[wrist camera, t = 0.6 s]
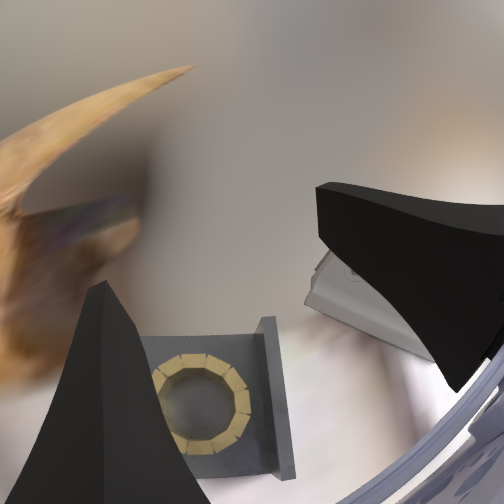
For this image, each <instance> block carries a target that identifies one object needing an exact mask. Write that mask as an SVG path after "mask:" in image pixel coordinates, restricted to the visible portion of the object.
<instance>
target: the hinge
mask: <svg viewBox="0 0 504 504" xmlns="http://www.w3.org/2000/svg"><path fill="white" fill-rule="evenodd" d="M315 271H316V272H315V274H314V275H313V276H312V278H311V290H310V292H309V294H308V296H307V298H306V299H305V302H304V305H306V306H309V307H311V308H313V309H315V310H317V311H319V312H321V313H324V314H326V315H328V316H330V317H332V318H335V319H337V320H339V321H341V322H343V323H346V324H348V325H350V326H352V327H354V328H357V329H359V330H361V331H363V332H366V333H368V334H370V335H372V336H375V337H377V338H379V339H381V340H384V341H386V342H388V343H390V344H393V345H395V346H397V347H400V348H402V349H404V350H407V351H409V352H411V353H413V354H416V355H418V356H420V357H423V358H425V359H427V360H430V361H432V362H434V363H436V362H435V361H434V359H433V358H432V356H431V355H430V353H429V352H428V350H427V349H426V347H425V346H424V345H423V343H422V342H421V340H420V339H419V338H418V336H417V335H416V334H415V332H414V331H413V330H412V329H411V327H410V326H409V325H408V324H407V322H406V321H405V320H404V319H403V318H402V316H401V315H400V314H399V313H398V312H397V311H396V310H395V309H394V307H393V306H392V305H391V304H390V303H389V302H388V301H387V300H386V299H385V298H384V297H383V296H382V295H381V294H380V293H379V292H377V291H376V290H375V289H374V288H373V287H372V286H370V285H369V284H368V283H367V282H366V281H365V280H363V279H362V278H361V277H360V276H359V275H358V274H356V273H355V272H354V271H353V270H352V269H350V268H349V267H348V266H347V265H346V264H345V263H343V262H342V261H341V260H340V259H339V258H338V257H337V256H336V255H335V254H334V253H333V252H332V251H331V250H330V249H329V251H328V252H327V253H326V255H325V256H324V257H323V259H322V260H321V261H320V263H319V264H318V266H317V267H316V268H315Z"/></svg>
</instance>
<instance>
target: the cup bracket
mask: <svg viewBox="0 0 504 504" xmlns="http://www.w3.org/2000/svg"><path fill="white" fill-rule="evenodd" d="M139 337H140V339H141V342H142V345H143V347H144V350H145V353H146V357H147V360H148V364H149V368H150V371H151V375H152V378H153V382H154V385H155V389H156V392H157V396H158V399H159V402H160V405H161V409H162V412H163V415H164V417H165V420H166V423H167V425H168V427H169V430H170V432H171V434H172V436H173V438H174V440H175V442H176V444H177V446H178V448H179V450H180V452H181V454H182V456H183V458H184V460H185V462H186V463H187V465H188V467H189V469H190V471H191V472H192V474H193V476H194V478H195V479H199V478H224V477H238V476H249V475H259V474H267V473H271V474H272V475H274V476H275V477H276V478H278V479H279V480H281V481H285V480H291V479H296V473H295V464H294V456H293V448H292V439H291V431H290V423H289V415H288V407H287V400H286V392H285V384H284V376H283V369H282V361H281V354H280V346H279V339H278V332H277V324H276V318H275V316H271V317H262V318H261V320H260V322H259V325H258V327H257V329H256V331H255V334H237V335H211V336H139Z"/></svg>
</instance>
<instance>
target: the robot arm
mask: <svg viewBox="0 0 504 504" xmlns="http://www.w3.org/2000/svg"><path fill="white" fill-rule="evenodd" d="M316 201H317V216H318V230H319V231H318V233H319V237H320V239H321V240H322V241H323V242H324V243H325V244H326V246H327V247H328V248H329V249H330V250H331V251H332V252H333V253H334V254H335V255H336V256H337V257H338V258H339V259H340V260H341V261H342V262H343V263H345V264H346V265H347V266H348V267H349V268H350V269H352V270H353V271H354V272H355V273H356V274H358V275H359V276H360V277H361V278H362V279H363V280H365V281H366V282H367V283H368V284H369V285H370V286H372V287H373V288H374V289H375V290H376V291H377V292H379V293H380V294H381V295H382V296H383V297H384V298H385V299H386V300H387V301H388V302H389V303H390V304H391V305H392V306H393V307H394V309H395V310H396V311H397V312H398V313H399V314H400V315H401V316H402V318H403V319H404V320H405V321H406V322H407V324H408V325H409V326H410V327H411V329H412V330H413V331H414V332H415V334H416V335H417V336H418V338H419V339H420V340H421V342H422V343H423V345H424V346H425V347H426V349H427V350H428V352H429V353H430V355H431V356H432V358H433V359H434V361H435V362H436V364H437V366H438V367H439V369H440V371H441V372H442V374H443V376H444V378H445V380H446V381H447V383H448V385H449V387H450V388H451V389H453V390H454V391H455V392H456V393H458V392H459V391H460V390H461V388H462V387H463V386H464V385H465V384H466V383H467V382H468V380H469V379H470V378H471V377H472V376H473V374H474V373H475V372H476V371H477V370H478V368H479V367H480V366H481V365H482V363H483V362H484V361H485V359H486V358H488V359H490V360H491V362H490V363H489V365H488V366H487V367H486V368H485V370H484V371H483V372H482V374H481V375H480V376H479V377H478V379H477V380H476V381H475V382H474V383H473V385H472V386H471V387H470V388H469V389H468V391H467V392H466V393H465V394H464V395H463V396H462V397H461V399H460V400H459V401H458V402H457V403H456V404H455V405H454V406H453V407H452V408H451V410H450V411H449V412H448V413H447V414H446V415H445V416H444V417H443V418H442V419H441V420H440V421H439V422H438V423H437V424H436V425H435V426H434V427H433V428H432V429H431V430H430V431H429V432H428V433H427V434H426V435H425V436H423V437H422V438H421V439H420V440H419V441H418V442H417V443H416V444H415V445H414V446H412V447H411V448H410V449H409V450H408V451H407V452H406V453H404V454H403V455H402V456H401V457H400V458H398V459H397V460H396V461H395V462H394V463H392V464H391V465H390V466H389V467H387V468H386V469H385V470H383V471H382V472H381V473H379V474H378V475H377V476H376V477H374V478H373V479H371V480H370V481H369V482H367V483H366V484H364V485H363V486H362V487H360V488H359V489H357V490H356V491H354V492H353V493H351V494H350V495H348V496H347V497H345V498H344V499H342V500H341V501H339V502H337V503H336V504H380V503H382V502H383V501H384V500H386V499H387V498H388V497H389V496H391V495H392V494H393V493H395V492H396V491H397V490H398V489H400V488H401V487H402V486H403V485H405V484H406V483H407V482H408V481H409V480H410V479H412V478H413V477H414V476H415V475H416V474H417V473H419V472H420V471H421V470H422V469H423V468H424V467H425V466H426V465H427V464H428V463H429V462H431V461H432V460H433V459H434V458H435V457H436V456H437V455H438V454H439V453H440V452H441V451H442V450H443V449H444V448H445V447H446V446H447V445H448V444H449V443H450V442H451V441H452V440H453V438H454V437H455V436H456V435H457V434H458V433H459V432H460V431H461V430H462V429H463V428H464V426H465V425H466V424H467V423H468V422H469V421H470V419H471V418H472V417H473V416H474V415H475V414H476V412H477V411H478V410H479V409H480V407H481V406H482V405H483V404H484V402H485V401H486V400H487V398H488V397H489V396H490V395H491V393H492V392H493V390H494V389H495V388H496V386H497V385H498V387H499V391H498V392H497V394H496V395H495V396H494V397H493V398H492V399H491V400H490V401H489V402H488V403H487V404H486V405H485V406H484V407H483V408H482V410H481V411H480V412H479V413H478V414H477V416H476V417H475V418H474V420H473V421H472V423H471V424H470V426H469V427H468V432H469V433H470V434H471V436H470V438H469V439H468V440H467V441H466V442H465V443H464V444H463V445H462V446H461V447H460V448H459V449H458V450H457V451H456V452H455V453H454V454H453V455H452V456H451V457H450V458H449V459H448V460H447V461H446V462H444V463H443V464H442V465H441V466H440V467H439V468H438V469H437V470H436V471H435V472H433V473H432V474H431V475H430V476H429V477H428V478H426V479H425V480H424V481H423V482H422V483H420V484H419V485H418V486H417V487H416V488H414V489H413V490H412V491H411V492H409V493H408V494H407V495H406V496H404V497H403V498H402V499H401V500H399V501H398V502H397V503H395V504H504V205H477V204H463V203H452V202H444V201H436V200H429V199H423V198H418V197H412V196H407V195H402V194H397V193H392V192H387V191H382V190H377V189H373V188H368V187H362V186H357V185H352V184H345V183H338V182H328V183H326V184H323V185H321V186H318V187H316ZM4 504H211V503H210V502H209V500H208V499H207V497H206V495H205V494H204V492H203V491H202V489H201V487H200V486H199V484H198V483H197V481H196V479H195V478H194V476H193V474H192V472H191V471H190V469H189V467H188V465H187V463H186V462H185V460H184V458H183V456H182V454H181V452H180V450H179V448H178V446H177V444H176V442H175V440H174V438H173V436H172V434H171V432H170V430H169V427H168V425H167V423H166V420H165V417H164V415H163V412H162V409H161V405H160V402H159V399H158V396H157V392H156V389H155V385H154V382H153V378H152V375H151V371H150V368H149V364H148V360H147V357H146V353H145V350H144V347H143V345H142V342H141V339H140V337H139V334H138V332H137V329H136V326H135V324H134V323H133V321H132V320H131V318H130V317H129V315H128V314H127V312H126V311H125V309H124V308H123V306H122V304H121V303H120V302H119V300H118V298H117V297H116V295H115V293H114V292H113V290H112V289H111V287H110V285H109V284H108V282H107V280H105V281H103V282H101V283H99V284H97V285H95V286H93V287H90V288H89V289H88V292H87V295H86V298H85V301H84V304H83V307H82V311H81V314H80V317H79V321H78V324H77V327H76V331H75V334H74V337H73V341H72V344H71V347H70V350H69V353H68V356H67V359H66V362H65V366H64V369H63V372H62V375H61V378H60V381H59V384H58V387H57V389H56V392H55V395H54V397H53V400H52V403H51V405H50V408H49V411H48V413H47V415H46V418H45V420H44V422H43V425H42V427H41V430H40V432H39V434H38V437H37V439H36V442H35V444H34V446H33V448H32V451H31V453H30V455H29V457H28V459H27V461H26V463H25V465H24V467H23V469H22V471H21V474H20V476H19V477H18V479H17V481H16V483H15V485H14V487H13V489H12V491H11V492H10V494H9V496H8V498H7V500H6V502H5V503H4Z"/></svg>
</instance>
